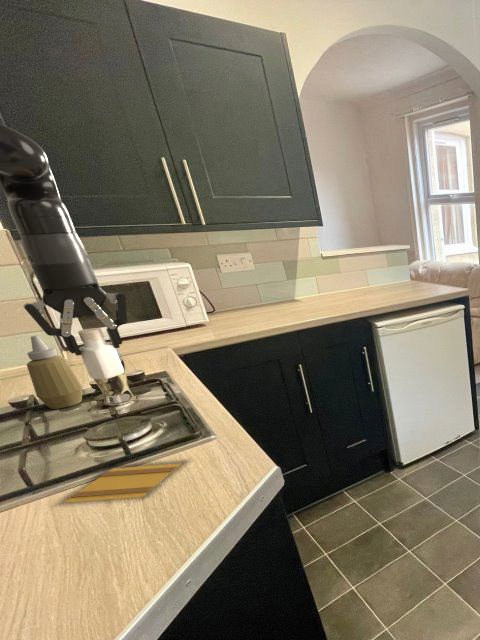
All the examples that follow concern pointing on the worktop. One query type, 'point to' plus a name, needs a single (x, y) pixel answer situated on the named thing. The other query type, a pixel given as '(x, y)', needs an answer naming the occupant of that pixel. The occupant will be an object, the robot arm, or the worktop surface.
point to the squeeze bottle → (52, 377)
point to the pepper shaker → (99, 355)
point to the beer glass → (115, 387)
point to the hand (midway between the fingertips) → (97, 350)
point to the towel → (124, 483)
